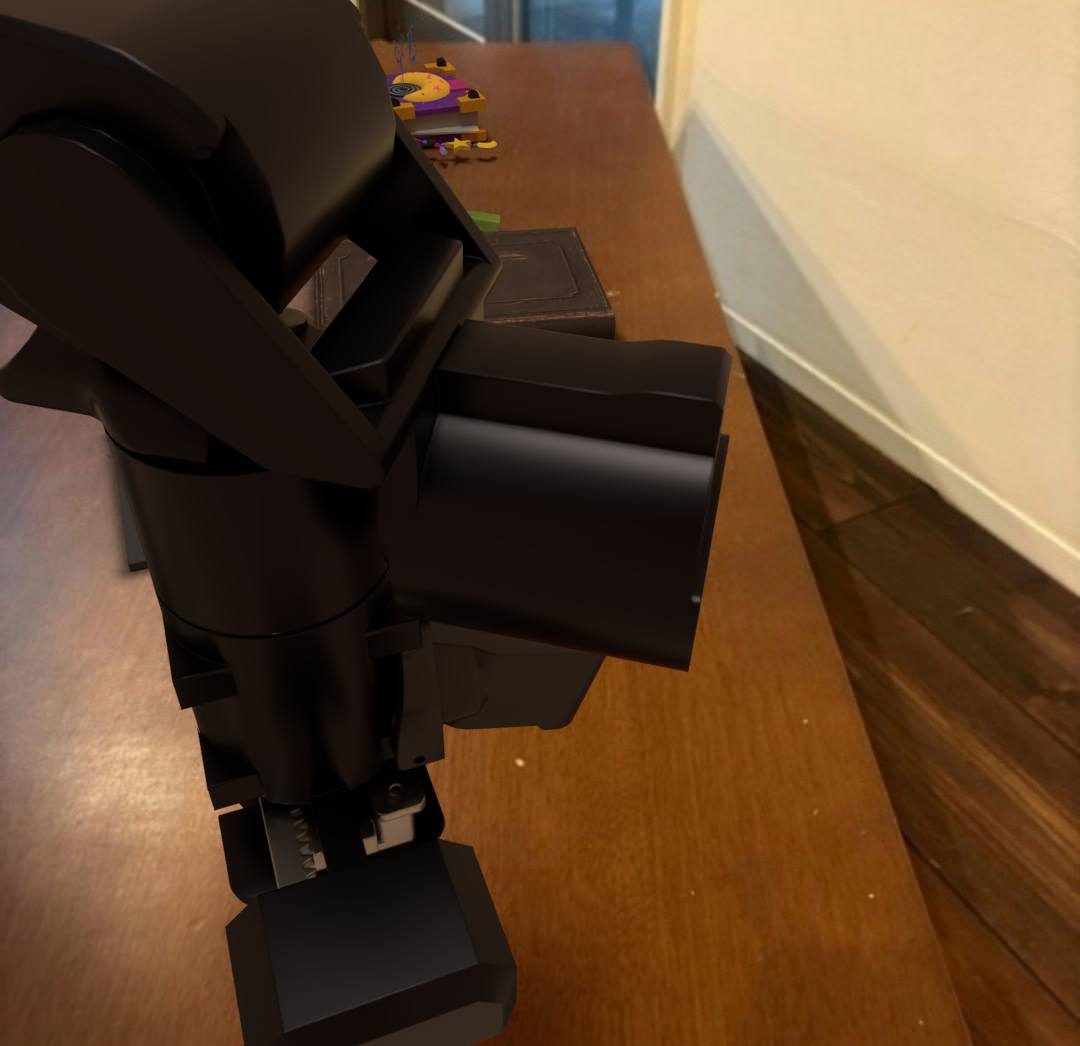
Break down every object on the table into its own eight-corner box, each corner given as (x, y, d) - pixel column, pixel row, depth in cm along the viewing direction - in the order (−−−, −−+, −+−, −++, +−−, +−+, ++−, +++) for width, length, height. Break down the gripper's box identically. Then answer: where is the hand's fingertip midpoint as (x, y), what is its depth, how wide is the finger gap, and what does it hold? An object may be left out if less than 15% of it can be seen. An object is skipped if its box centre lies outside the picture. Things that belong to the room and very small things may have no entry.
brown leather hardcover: (316, 266, 90) (313, 241, 89) (575, 250, 94) (576, 226, 92) (319, 365, 79) (315, 339, 77) (614, 343, 82) (616, 318, 80)
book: (379, 178, 104) (368, 51, 96) (321, 95, 122) (308, -19, 113) (513, 159, 109) (514, 36, 101) (440, 82, 126) (435, -29, 118)
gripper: (764, 759, 21) (676, 1070, 31) (472, 309, 34) (480, 634, 44) (190, 946, 18) (306, 1222, 28) (113, 370, 30) (211, 704, 41)
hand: (341, 885), depth 35 cm, fingers closed
